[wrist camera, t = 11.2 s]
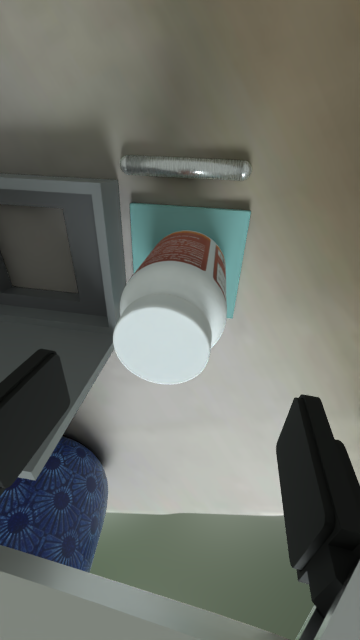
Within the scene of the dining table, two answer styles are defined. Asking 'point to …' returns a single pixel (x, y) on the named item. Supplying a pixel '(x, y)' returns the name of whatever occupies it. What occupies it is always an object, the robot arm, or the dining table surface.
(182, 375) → the pill bottle
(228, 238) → the mat
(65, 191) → the case
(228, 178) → the rod
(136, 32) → the dining table surface
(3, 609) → the robot arm
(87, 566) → the planter
